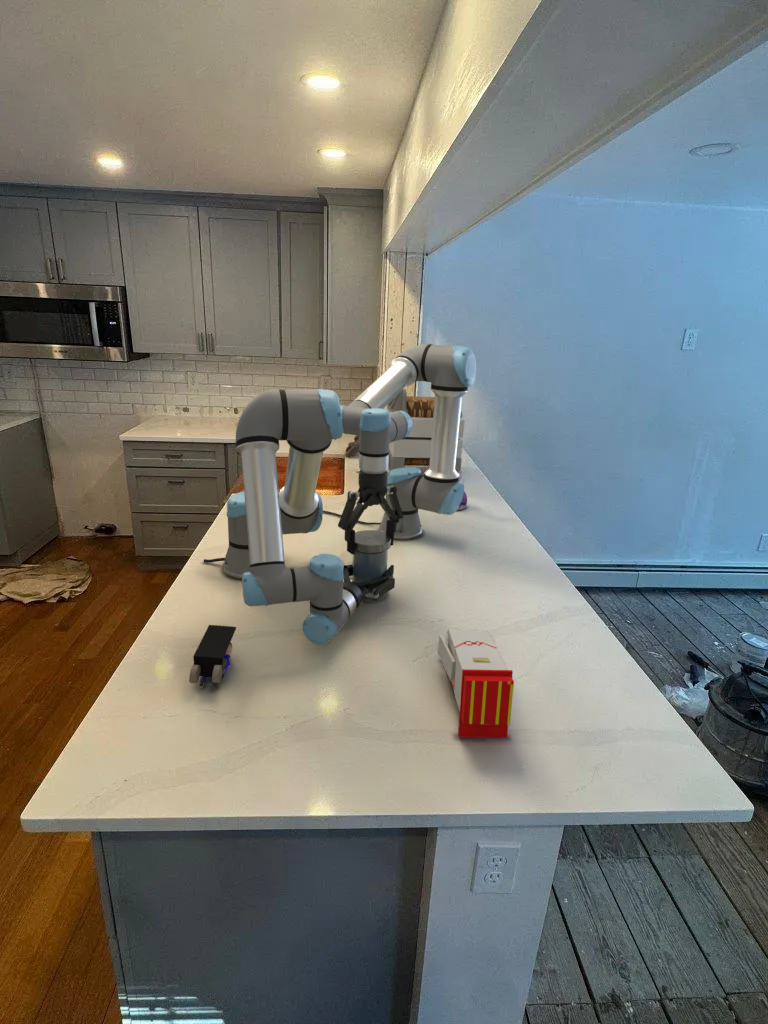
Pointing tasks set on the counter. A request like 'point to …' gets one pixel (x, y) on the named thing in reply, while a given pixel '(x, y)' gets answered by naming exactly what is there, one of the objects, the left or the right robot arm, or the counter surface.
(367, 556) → the jar
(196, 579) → the counter surface
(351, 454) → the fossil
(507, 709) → the toy
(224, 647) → the black wheeled vehicle
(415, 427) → the white slatted box
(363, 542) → the lid
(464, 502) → the figurine
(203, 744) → the counter surface
